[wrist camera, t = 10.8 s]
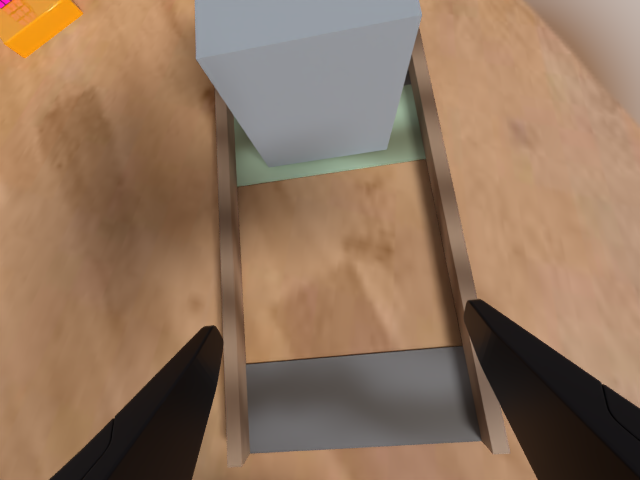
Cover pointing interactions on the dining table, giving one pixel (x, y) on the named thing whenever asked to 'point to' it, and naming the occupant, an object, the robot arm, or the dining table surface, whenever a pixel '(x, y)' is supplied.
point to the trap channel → (357, 370)
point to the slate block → (309, 71)
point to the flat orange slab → (34, 22)
